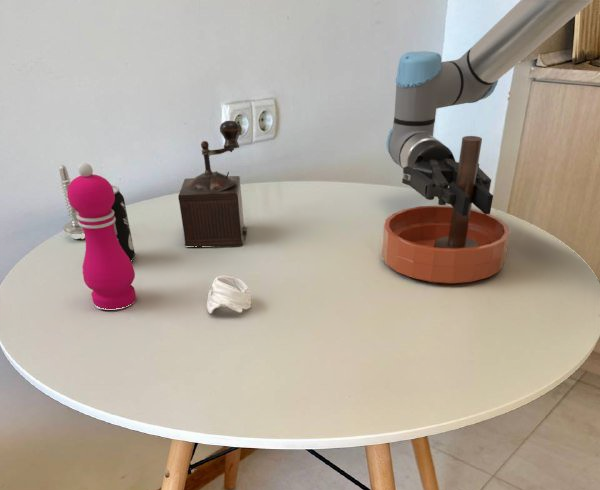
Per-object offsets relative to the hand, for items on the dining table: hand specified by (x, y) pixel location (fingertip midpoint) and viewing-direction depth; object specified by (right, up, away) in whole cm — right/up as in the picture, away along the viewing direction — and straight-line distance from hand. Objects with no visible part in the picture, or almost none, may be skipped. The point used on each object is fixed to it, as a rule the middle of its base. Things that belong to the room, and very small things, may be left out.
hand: (477, 205), depth 86 cm
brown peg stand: (-1, -5, +10) cm, 11 cm away
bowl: (-2, -5, +12) cm, 14 cm away
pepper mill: (-54, -14, +3) cm, 55 cm away
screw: (-67, +2, +24) cm, 71 cm away
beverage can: (-57, -5, +15) cm, 59 cm away
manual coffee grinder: (-41, +3, +25) cm, 48 cm away
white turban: (-36, -15, +1) cm, 39 cm away
